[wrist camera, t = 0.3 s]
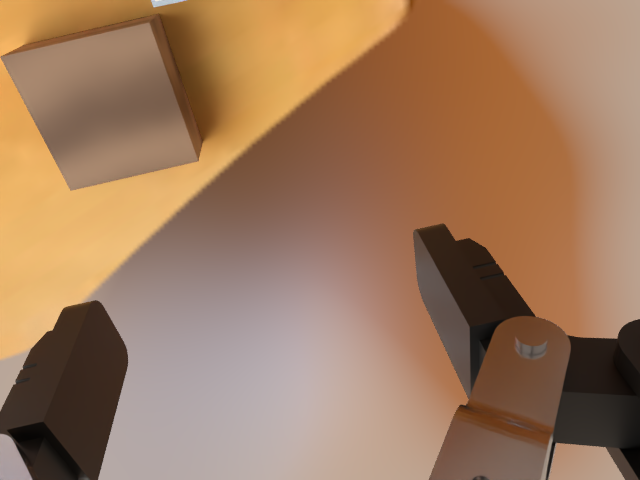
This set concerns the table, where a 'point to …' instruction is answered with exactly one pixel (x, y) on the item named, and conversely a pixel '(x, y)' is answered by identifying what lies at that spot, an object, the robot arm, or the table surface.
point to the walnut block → (108, 101)
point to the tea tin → (164, 2)
